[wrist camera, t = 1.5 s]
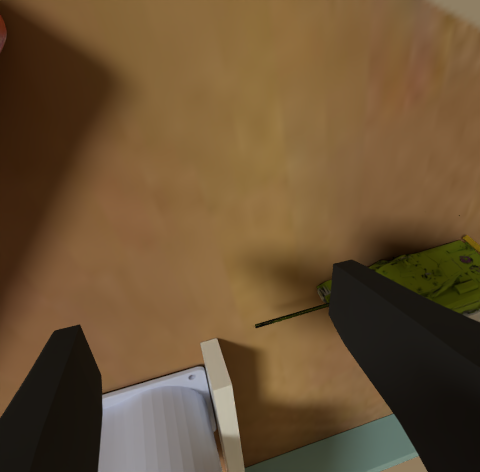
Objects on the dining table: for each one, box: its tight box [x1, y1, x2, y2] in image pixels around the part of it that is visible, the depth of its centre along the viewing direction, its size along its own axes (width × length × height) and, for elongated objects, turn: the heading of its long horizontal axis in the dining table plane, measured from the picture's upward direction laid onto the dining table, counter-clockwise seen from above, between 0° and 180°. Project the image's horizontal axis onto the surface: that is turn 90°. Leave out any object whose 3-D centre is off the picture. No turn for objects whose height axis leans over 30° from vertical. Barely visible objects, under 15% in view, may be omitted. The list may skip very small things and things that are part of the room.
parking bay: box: [201, 312, 480, 472], centre depth 31 cm, size 24×20×4 cm
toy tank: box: [255, 215, 480, 328], centre depth 23 cm, size 7×19×10 cm
